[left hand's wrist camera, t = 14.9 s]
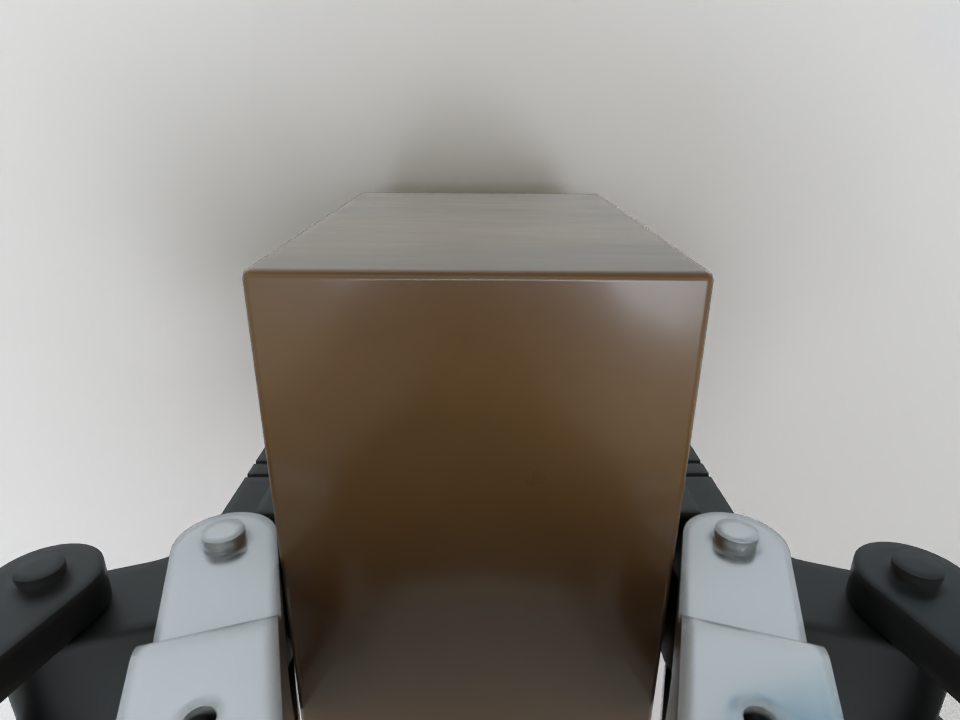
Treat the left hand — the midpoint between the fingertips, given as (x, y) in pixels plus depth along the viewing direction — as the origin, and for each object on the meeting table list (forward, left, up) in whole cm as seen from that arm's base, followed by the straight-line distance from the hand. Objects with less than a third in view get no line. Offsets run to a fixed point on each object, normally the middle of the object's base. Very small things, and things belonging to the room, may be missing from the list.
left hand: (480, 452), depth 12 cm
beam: (+23, +5, -2) cm, 24 cm away
